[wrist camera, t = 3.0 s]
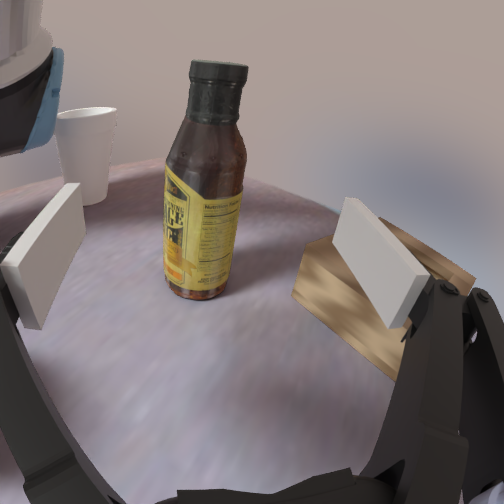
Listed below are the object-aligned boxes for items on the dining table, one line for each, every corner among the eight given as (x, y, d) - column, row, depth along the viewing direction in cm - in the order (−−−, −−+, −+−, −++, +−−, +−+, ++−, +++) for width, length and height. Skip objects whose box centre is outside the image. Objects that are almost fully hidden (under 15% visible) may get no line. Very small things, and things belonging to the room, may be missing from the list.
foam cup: (115, 182, 47) (115, 105, 40) (119, 206, 40) (118, 114, 33) (61, 189, 43) (57, 111, 35) (55, 214, 36) (47, 121, 29)
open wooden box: (291, 295, 30) (306, 244, 27) (364, 257, 38) (380, 217, 35) (403, 388, 22) (440, 341, 18) (451, 318, 30) (476, 278, 27)
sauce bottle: (162, 264, 31) (172, 59, 20) (221, 262, 33) (248, 65, 22) (165, 309, 26) (175, 56, 15) (235, 305, 28) (274, 67, 17)
